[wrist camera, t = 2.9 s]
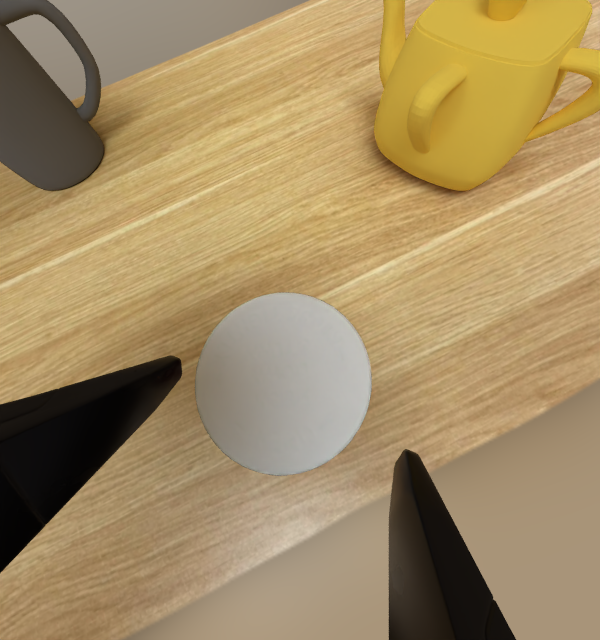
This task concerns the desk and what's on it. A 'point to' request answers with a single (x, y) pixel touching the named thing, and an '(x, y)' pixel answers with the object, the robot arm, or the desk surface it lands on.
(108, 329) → the desk surface
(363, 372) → the pill bottle
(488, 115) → the teapot
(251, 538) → the desk surface
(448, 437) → the desk surface
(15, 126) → the mug
